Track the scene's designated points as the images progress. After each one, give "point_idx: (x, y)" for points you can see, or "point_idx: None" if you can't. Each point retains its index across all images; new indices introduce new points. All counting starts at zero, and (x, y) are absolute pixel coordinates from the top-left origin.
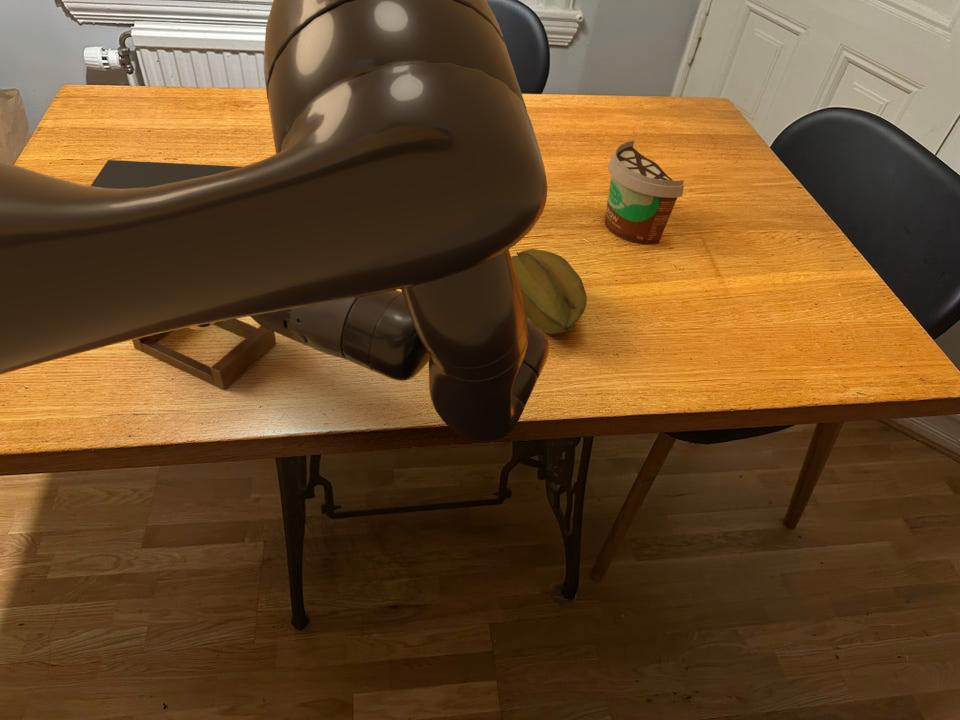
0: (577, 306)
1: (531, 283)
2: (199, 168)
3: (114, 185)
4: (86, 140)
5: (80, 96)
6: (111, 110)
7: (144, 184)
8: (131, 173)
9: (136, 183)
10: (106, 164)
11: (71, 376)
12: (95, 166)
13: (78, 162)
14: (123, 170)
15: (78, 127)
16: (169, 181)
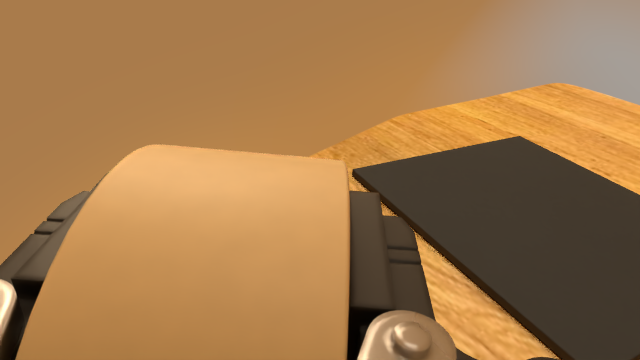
0: None
1: None
2: (633, 198)
3: (493, 158)
4: (521, 116)
5: (560, 89)
6: (579, 107)
7: (530, 175)
8: (529, 158)
9: (521, 169)
10: (512, 138)
11: None
12: (500, 136)
13: (488, 126)
14: (523, 151)
15: (527, 105)
16: (568, 189)
